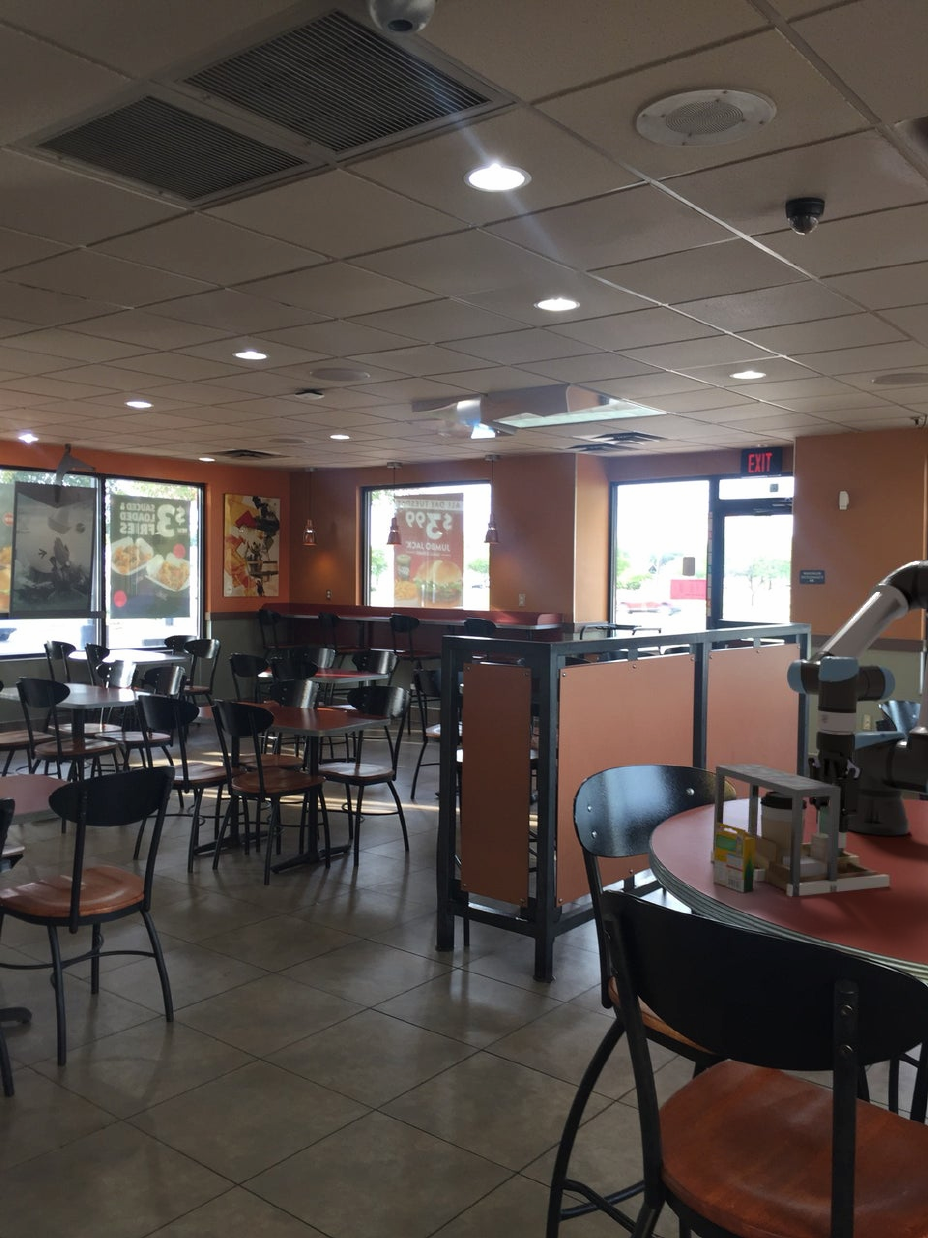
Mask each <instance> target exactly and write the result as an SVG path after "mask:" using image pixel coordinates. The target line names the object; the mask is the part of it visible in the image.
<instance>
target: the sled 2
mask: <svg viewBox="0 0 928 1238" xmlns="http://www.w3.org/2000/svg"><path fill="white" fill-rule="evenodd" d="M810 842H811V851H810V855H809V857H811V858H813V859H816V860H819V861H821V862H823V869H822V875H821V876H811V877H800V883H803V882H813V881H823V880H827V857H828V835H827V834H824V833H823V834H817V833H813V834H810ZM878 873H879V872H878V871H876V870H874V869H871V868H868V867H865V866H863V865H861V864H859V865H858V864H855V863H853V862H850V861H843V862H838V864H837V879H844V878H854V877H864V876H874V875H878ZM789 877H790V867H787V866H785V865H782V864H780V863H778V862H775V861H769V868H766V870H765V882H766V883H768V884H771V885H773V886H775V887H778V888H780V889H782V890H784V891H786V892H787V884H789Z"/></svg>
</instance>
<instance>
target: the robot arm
mask: <svg viewBox="0 0 928 1238" xmlns="http://www.w3.org/2000/svg"><path fill="white" fill-rule="evenodd" d="M868 593H869V594H868V598H867V599H866V600H865V601H864V602H863V603H862V604H861V606H859V607H858V609H857V610H855V612H853V614H852V615H851V616H850V617H849V618H848V619H847V620H846V621H845V622H844V623H843V624H842V625H841V626H840V627H839V628H838V629H837V631H835V633H833V635H831V637H830V638H828V639H827V640H826V642H824V643H823V644H822V646H821V647H820V648H819V649H818V650H817V651H816V652H815V653H814V654H813V655H812V656H811V657H810V658H809V659H808V660H807V659H805V658H803V659H797V660H794V661H792V662H791V663H790V664H789V666H788V669H787V673H786V681H787V683H788V686H789V688H790V689H791V690H792V691H793V692H796V693H799V694H805V695H807V696H808V695H809V696H810V695H811V696H817V697H818V698H817V699H818V701H817V702H818V703H817V717H816V718H817V720H816V728H817V729H818V730H819V731H817V732H816V733H815V734H816V738H815V740H816V741H815V747H816V749H817V750H818V754H817V756H815V757H808V758H807V763H808V767H809V779H813V780H816V781H820V782H823V783H827V784H831V785H834V786H838V787H841V791H840V815H839V840H838V848H844V849H846V847H847V835H848V834H847V833H849V831H853V832H856V833H862V834H868V835H876V836H886V837H887V836H889V837H890V836H893V837H894V836H903V835H907V834H908V833H909V832H910V820H909V818H907V812H906V808H905V805H904V804H905V803H904V801H903V791H906V792H911V793H916V794H921V795H926V796H928V654H927V656H926V661H925V663H926V664H925V668H924V669H925V670H924V677H923V682H922V683H923V685H922V691H921V692H922V693H921V699H920V705H919V712H918V717H917V718H918V719H917V725H916V726H915V727H914V728H913V729H911V730H909V732H908V736H907V738H906V735H905V732H903V731H895V730H894V731H893V730H892V731H889V730H888V731H886V730H885V731H884V730H883V731H865V732H863V731H862V732H858V733H855V732H856V730H857V705H858V702H873V703H875V702H876V703H877V702H879V701H884V700H886V699H888V698H890V697H891V696H892V694H893V693H894V691H895V689H896V679H895V676H894V674H893V672H892V671H891V670H890V669H889V668H887V667H886V666H883V665H877V664H876V665H875V664H870V665H865V664H863V665H862V664H859V660H858V659H859V658H860V657H861V656H862V655H863V654H864V653H865V652H866V651H867V649H868V648H869V647H870V646H871V645H872V644H873V643H874V642H875V641H876V640H877V639H878V638H879V637H880V635H882V634H883V633H884V632H885V630H887V629H888V627H889V626H890V625H891V624H892V623H893V622H894V621H895V620H898V619H901V618H903V617H905V616H906V615H907V613H909V612H910V611H915V610H926V612H925V616H926V617H927V618H928V559H918V560H915V561H910V562H908V563H906V564H903V565H901V566H899V567H897V568H896V569H894V570H893V571H891V572H889V573H888V574H887V575H885V576H884V577H882V578H881V579H880V580H879V581H878V582H877V583H876V584H875V585H873V587H872V588H871V589H870V591H869V592H868ZM854 733H855V734H854ZM808 801H809V804H810V805H811V806H814V808H815V810H816V812H815V813H816V817H815V824H816V826H817V827H816V834H819V818H820V807H823V806H830V796H821V797H808Z"/></svg>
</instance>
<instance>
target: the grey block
mask: <svg viewBox="0 0 928 1238" xmlns="http://www.w3.org/2000/svg"><path fill="white" fill-rule="evenodd" d="M783 865H785V866H787V867H790V856H789V857H783ZM822 869H823V862H821V861H819V860H816V859H813V858H811V857H810V856H809V855H801V862H800V877H811V876H821V875H822Z"/></svg>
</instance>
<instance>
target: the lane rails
mask: <svg viewBox="0 0 928 1238" xmlns="http://www.w3.org/2000/svg"><path fill="white" fill-rule="evenodd" d="M710 861H711V862H715V851H713V850H710ZM850 862H851V861H850ZM765 870H766V869H760V868H757V869H754V881H755V882H764V881H765ZM765 882H766V881H765ZM793 886H796V885H791V884H787V891H786V896H788V897H796V896H795V895H794V896H792V895H793V889H794V888H795V887H794V888H793ZM798 886H800V887H799V890H798V891H799V894H798V893H797V895H799V896H801V897H802V896H810V895H819V894H827V893H828V894H829V893H836V892H837V893H839V892H846V891H856V890H867V889H874V888H875V889H877V888H886V887H889V886H890V875H889V874H885V873H884V874H877V875H874V876H864V877H854V878H844V879H837V881H834V883H833V882H830V881H827V880H823V881H813V882H803V883H800V885H798ZM798 886H797V887H798ZM831 886H833V889H836V891H835V890H834V891H835V892H833V891H832V892H830V890H831V889H832V888H831V889H830V887H831ZM834 886H835V887H836V886H837V888H834ZM833 889H832V890H833ZM795 890H796V889H795ZM799 896H798V897H799Z"/></svg>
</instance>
